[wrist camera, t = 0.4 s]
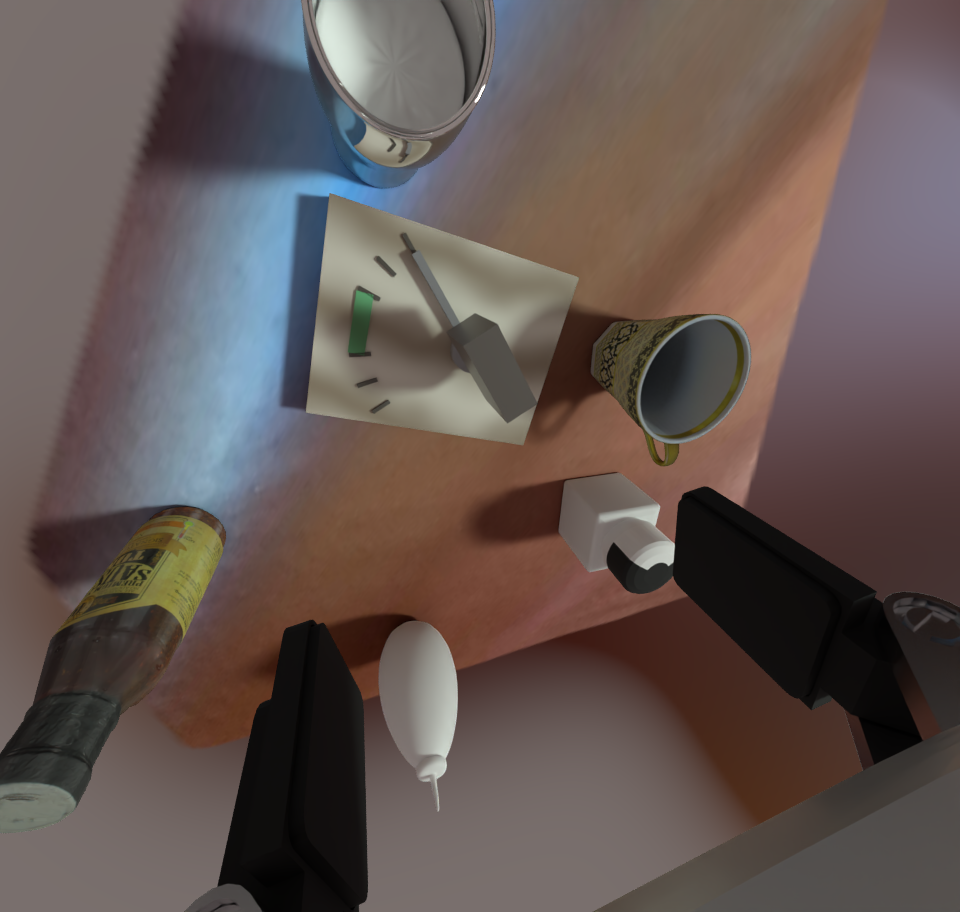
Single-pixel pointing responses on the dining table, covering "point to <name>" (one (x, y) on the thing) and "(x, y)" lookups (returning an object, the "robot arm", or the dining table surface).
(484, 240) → the dining table surface
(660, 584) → the medicine bottle
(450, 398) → the tuner board
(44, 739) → the sauce bottle
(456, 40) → the beer glass
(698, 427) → the ceramic cup
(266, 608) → the dining table surface
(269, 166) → the dining table surface
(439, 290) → the grey block on stem
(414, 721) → the white air blower bulb
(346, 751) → the robot arm
